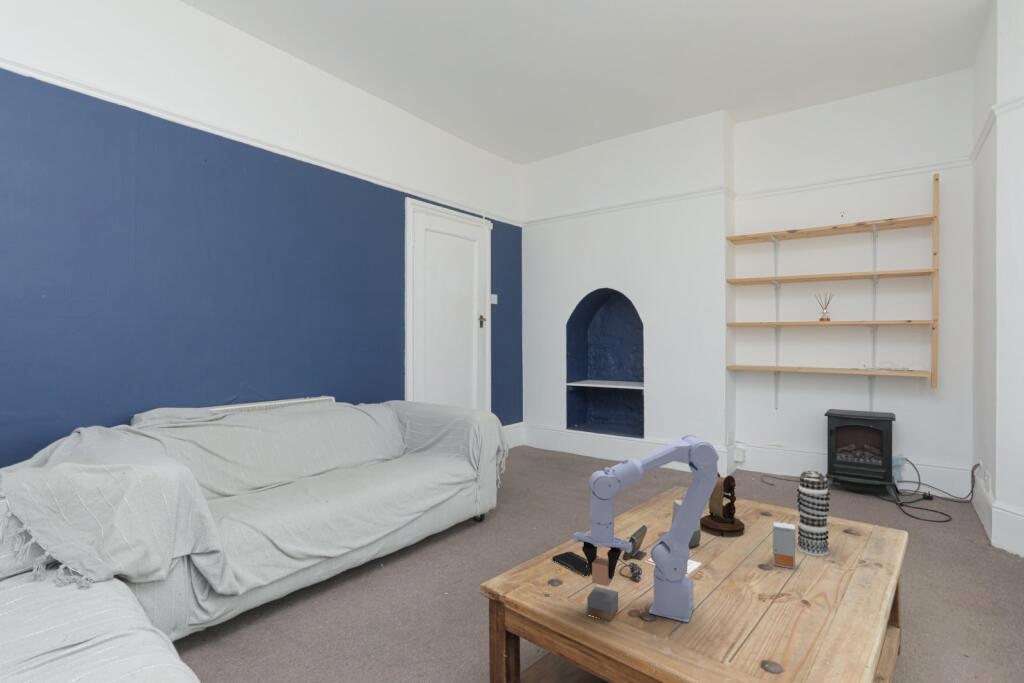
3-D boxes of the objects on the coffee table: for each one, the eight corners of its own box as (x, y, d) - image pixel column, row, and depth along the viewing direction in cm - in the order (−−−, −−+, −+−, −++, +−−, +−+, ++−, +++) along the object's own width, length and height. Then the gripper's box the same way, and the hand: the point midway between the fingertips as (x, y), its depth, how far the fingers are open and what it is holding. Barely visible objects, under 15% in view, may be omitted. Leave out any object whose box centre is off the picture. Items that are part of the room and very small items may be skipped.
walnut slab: (617, 611, 132) (617, 601, 132) (610, 623, 127) (610, 613, 127) (595, 606, 135) (595, 596, 135) (587, 617, 130) (587, 607, 130)
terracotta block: (612, 579, 132) (612, 559, 132) (607, 586, 129) (607, 565, 129) (597, 576, 134) (597, 556, 134) (592, 582, 131) (592, 562, 130)
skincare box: (772, 565, 158) (772, 525, 158) (772, 560, 162) (772, 521, 161) (795, 569, 155) (795, 529, 155) (795, 564, 159) (795, 524, 159)
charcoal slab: (618, 601, 133) (618, 591, 133) (611, 612, 127) (611, 602, 127) (595, 596, 135) (595, 586, 135) (587, 606, 130) (587, 596, 130)
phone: (569, 551, 167) (604, 567, 155) (569, 554, 167) (604, 571, 155) (550, 557, 163) (584, 574, 150) (550, 560, 163) (584, 578, 150)
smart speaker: (704, 549, 170) (704, 506, 170) (675, 549, 170) (675, 506, 170) (695, 538, 179) (695, 497, 179) (667, 538, 180) (667, 497, 179)
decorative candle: (828, 559, 162) (828, 478, 162) (794, 551, 168) (794, 473, 167) (831, 549, 169) (831, 472, 169) (799, 542, 175) (799, 467, 175)
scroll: (690, 526, 191) (690, 471, 190) (721, 519, 197) (721, 466, 197) (722, 540, 177) (722, 481, 177) (754, 533, 184) (754, 476, 183)
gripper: (569, 521, 131) (569, 575, 131) (626, 531, 124) (626, 588, 124) (579, 512, 137) (579, 564, 137) (634, 521, 130) (634, 576, 131)
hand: (602, 575), depth 131 cm, fingers closed on terracotta block, 4 cm apart
